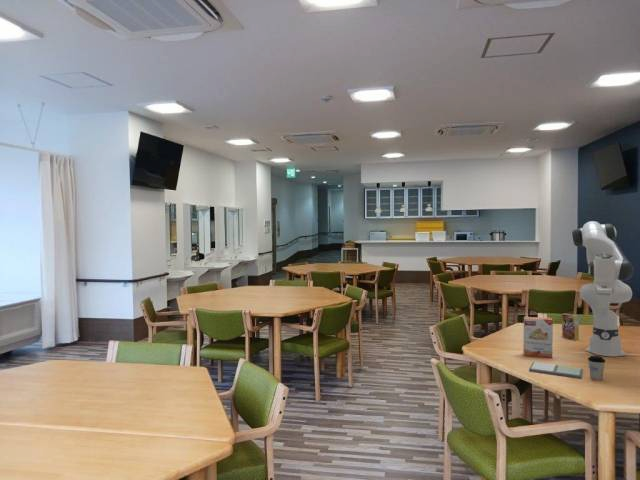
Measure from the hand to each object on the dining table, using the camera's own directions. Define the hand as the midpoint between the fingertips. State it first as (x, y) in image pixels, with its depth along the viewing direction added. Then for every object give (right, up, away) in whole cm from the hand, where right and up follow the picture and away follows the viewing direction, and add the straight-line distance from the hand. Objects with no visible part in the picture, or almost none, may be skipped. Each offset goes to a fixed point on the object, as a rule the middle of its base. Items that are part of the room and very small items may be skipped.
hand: (604, 316), depth 216 cm
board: (-21, -27, +5) cm, 35 cm away
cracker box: (-17, -27, +31) cm, 44 cm away
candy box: (+21, -26, +68) cm, 76 cm away
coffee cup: (-8, -28, -7) cm, 30 cm away
